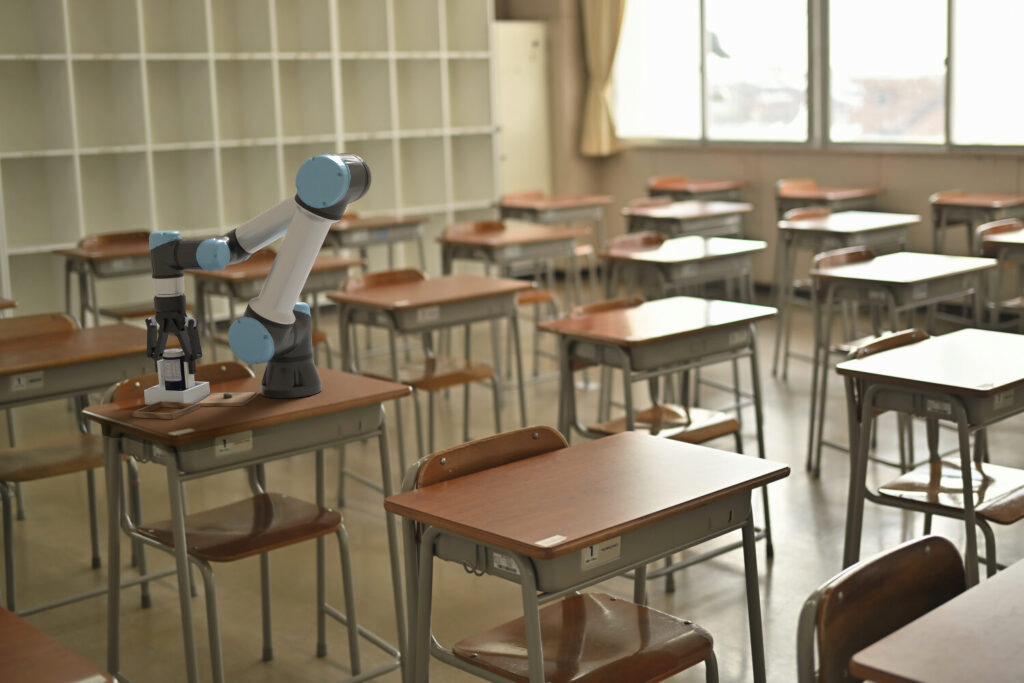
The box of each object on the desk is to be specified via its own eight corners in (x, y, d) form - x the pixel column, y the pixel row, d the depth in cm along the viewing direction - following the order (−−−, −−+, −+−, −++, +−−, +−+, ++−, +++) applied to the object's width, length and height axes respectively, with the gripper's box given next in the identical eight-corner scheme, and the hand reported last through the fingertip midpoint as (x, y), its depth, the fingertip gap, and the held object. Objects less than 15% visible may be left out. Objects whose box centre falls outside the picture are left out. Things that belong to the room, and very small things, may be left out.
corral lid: (256, 395, 296) (256, 388, 296) (243, 405, 285) (243, 398, 285) (212, 395, 297) (212, 388, 297) (198, 406, 286) (197, 399, 286)
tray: (210, 396, 297) (209, 382, 296) (184, 406, 287) (183, 391, 286) (172, 394, 301) (170, 380, 300) (145, 404, 290) (143, 389, 290)
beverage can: (193, 397, 293) (189, 350, 290) (170, 401, 290) (166, 353, 287) (185, 393, 297) (181, 346, 295) (162, 396, 294) (158, 349, 292)
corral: (200, 408, 284) (200, 403, 284) (173, 419, 274) (172, 414, 274) (160, 405, 288) (160, 401, 288) (132, 416, 277) (131, 411, 277)
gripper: (213, 292, 289) (220, 384, 293) (144, 291, 296) (151, 381, 300) (195, 297, 282) (203, 391, 286) (125, 295, 289) (133, 387, 293)
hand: (176, 386), depth 293 cm, fingers open, 7 cm apart
